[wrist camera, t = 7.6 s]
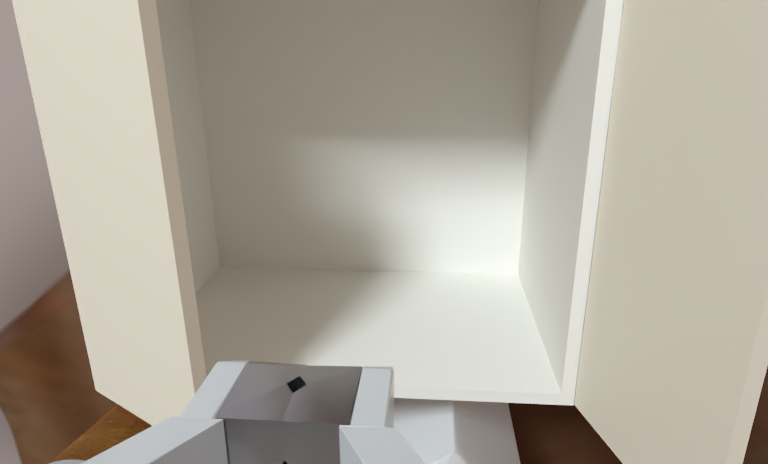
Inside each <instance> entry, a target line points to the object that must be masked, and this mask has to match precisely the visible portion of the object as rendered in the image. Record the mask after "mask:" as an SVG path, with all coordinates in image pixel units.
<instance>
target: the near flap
mask: <svg viewBox="0 0 768 464" xmlns="http://www.w3.org/2000/svg"><path fill="white" fill-rule="evenodd" d="M767 366H768V0H624V6H623V14H622V22H621V30H620V38H619V46H618V54H617V62H616V70H615V78H614V86H613V94H612V102H611V111H610V119H609V127H608V135H607V143H606V151H605V159H604V167H603V175H602V183H601V191H600V199H599V207H598V215H597V223H596V231H595V239H594V247H593V255H592V264H591V272H590V280H589V288H588V296H587V304H586V312H585V320H584V328H583V336H582V344H581V352H580V360H579V368H578V376H577V384H576V392H575V400H574V405H575V406H576V407H577V409H578V410H579V411H580V412H581V414H582V415H583V416H584V417H585V418H586V420H587V421H588V422H589V423H590V424H591V426H592V427H593V428H594V429H595V431H596V432H597V433H598V434H599V435H600V437H601V438H602V439H603V440H604V441H605V443H606V444H607V445H608V446H609V448H610V449H611V450H612V451H613V452H614V454H615V455H616V456H617V457H618V458H619V460H620V461H621V462H622V463H623V464H743V460H744V456H745V452H746V448H747V444H748V440H749V436H750V432H751V428H752V424H753V421H754V417H755V413H756V409H757V405H758V401H759V397H760V393H761V389H762V385H763V381H764V377H765V374H766V370H767Z"/></svg>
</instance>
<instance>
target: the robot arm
mask: <svg viewBox="0 0 768 464" xmlns="http://www.w3.org/2000/svg"><path fill="white" fill-rule="evenodd" d="M81 464H425V463H424V462H423V461H422V459H421V458H420V457H419V456H418V455H417V453H416V452H415V451H414V450H413V449H412V447H411V446H410V445H409V444H408V443H407V441H406V440H405V439H404V438H403V437H402V435H401V434H400V433H399V432H398V431H397V429H396V428H394V369H393V367H369V366H364V367H361V366H307V365H304V364H288V363H272V362H256V361H251V362H249V361H241V360H221V361H218V362H217V363H216V364H215V366H214V367H213V369H212V370H211V372H210V373H209V375H208V376H207V377H206V379H205V380H204V382H203V383H202V385H201V386H200V388H199V389H198V391H197V392H196V394H195V395H194V396H193V398H192V399H191V401H190V402H189V404H188V405H187V407H186V408H185V410H184V411H183V413H182V414H181V415H180V417H172V416H171V417H169V418H167V419H165V420H163V421H161V422H159V423H157V424H155V425H153V426H151V427H150V428H148V429H146V430H144V431H142V432H140V433H138V434H136V435H134V436H132V437H131V438H129V439H127V440H125V441H123V442H121V443H119V444H117V445H115V446H113V447H111V448H110V449H108V450H106V451H104V452H102V453H100V454H98V455H96V456H94V457H92V458H91V459H89V460H87V461H85V462H83V463H81Z"/></svg>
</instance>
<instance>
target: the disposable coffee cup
mask: <svg viewBox="0 0 768 464" xmlns="http://www.w3.org/2000/svg"><path fill="white" fill-rule="evenodd" d="M151 426H152V425H150V424H149V423H147V422H146V421H144V420H142V419H141V418H139V417H138V416H136V415H134V414H133V413H131V412H130V411H128V410H126V409H125V408H123V407H122V406H120V405H118V404H117V405H116V406H115V407H114V408H113V409H111V410H110V411H109V412H108V413H107V414H106V415H105V416H103V417H102V418H101V419H100V420H99V421H98V422H96V423H95V424H94V425H93V426H92V427H91V428H89V429H88V430H87V431H86V432H85V433H84V434H82V435H81V436H80V437H79V438H78V439H77V440H75V441H74V442H73V443H72V444H71V445H70V446H69V447H67V448H66V449H65V450H64V451H63V452H61V453H60V454H59V455H58V456H57V457H56V458H55V459H53V460H52V461H51V462H50V463H49V464H81V463H83V462H85V461H87V460H89V459H91V458H92V457H94V456H96V455H98V454H100V453H102V452H104V451H106V450H108V449H110V448H111V447H113V446H115V445H117V444H119V443H121V442H123V441H125V440H127V439H129V438H131V437H132V436H134V435H136V434H138V433H140V432H142V431H144V430H146V429H148V428H150V427H151Z"/></svg>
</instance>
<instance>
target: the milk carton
mask: <svg viewBox="0 0 768 464" xmlns="http://www.w3.org/2000/svg"><path fill="white" fill-rule="evenodd" d="M394 428H396V429H397V431H398V432H399V433H400V434H401V435H402V437H403V438H404V439H405V440H406V441H407V443H408V444H409V445H410V446H411V447H412V449H413V450H414V451H415V452H416V453H417V455H418V456H419V457H420V458H421V459H422V461H423V462H424V463H425V464H520V459H519V454H518V449H517V444H516V439H515V435H514V430H513V425H512V420H511V415H510V410H509V405H508V403H502V402H479V401H457V400H434V399H411V398H394Z"/></svg>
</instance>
